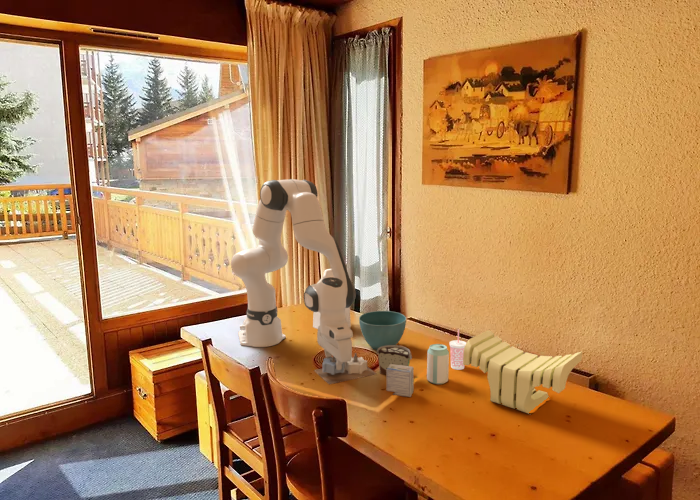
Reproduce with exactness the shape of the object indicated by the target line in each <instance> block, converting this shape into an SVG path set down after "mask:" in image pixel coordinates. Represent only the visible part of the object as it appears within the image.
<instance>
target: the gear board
mask: <svg viewBox="0 0 700 500" xmlns="http://www.w3.org/2000/svg"><path fill="white" fill-rule="evenodd" d="M357 354H358V353H357V352H354V356H353V358H354V362H358V358H359V357H358V355H357ZM332 357H333V360H332V362H333V363H334V362H336V361H335V358H334V356H332ZM313 372H314V373H315V374H317V375H318V376H319V377H320V378H321V379H322V380H323V381H324V382H326V383H327V384H328V385H333V384H338V383H342V382H345V381H351V380H357V379H359V378H364V377H365V378H366V377H369V376H373V375H374V376H375V375H377V372H375V371H374V370H373V369H371V368H370V367H368V366H367V370H365V371H363V372H362V374H359V373H351V374H349V373H348V371H347V370H344V372H343V373H341V372H340V373H335V374H334V375H331V373H327V372H323V367H322V368H318V369H314V370H313Z"/></svg>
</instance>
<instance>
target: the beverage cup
mask: <svg viewBox="0 0 700 500" xmlns="http://www.w3.org/2000/svg"><path fill="white" fill-rule="evenodd" d="M466 343H467V341H465V340H464V341H463V340H460V329H459V328H458V329H457V339H456V340H451V341H450V340H449V343H448V344H449V348H450V350H449V355H450V367H451V368H452V369H453V370H464V369H465V365H463V354H464V348H465V345H466Z"/></svg>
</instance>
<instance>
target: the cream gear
mask: <svg viewBox="0 0 700 500" xmlns="http://www.w3.org/2000/svg"><path fill="white" fill-rule="evenodd" d="M367 367H368V360H365V359H364V357H362V356H360V357H358V362H354V356H352V358H351V360H350V361H348V362H345V368H344V370H347V371H348V373H349V374H351V373H359V374H362V372H363V371H365V370H367Z"/></svg>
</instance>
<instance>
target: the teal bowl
mask: <svg viewBox="0 0 700 500" xmlns="http://www.w3.org/2000/svg"><path fill="white" fill-rule="evenodd" d="M358 321H359V328H360V331H361V334H362V336H363V338H364V339H365V341H366V343H367V344H368V346H369V347H370V348H371V349H372V350H375V351H377V350H378V348H380V347H382V346H387V345H398V344H399V342H400V341H401V339H402V337H403V335H404V332H405V329H406V325H407V316H406V315H404V314H402V313H401V312H396V311H391V310H374V311H368V312H365V313H363V314H361V315H360V316H359V317H358Z"/></svg>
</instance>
